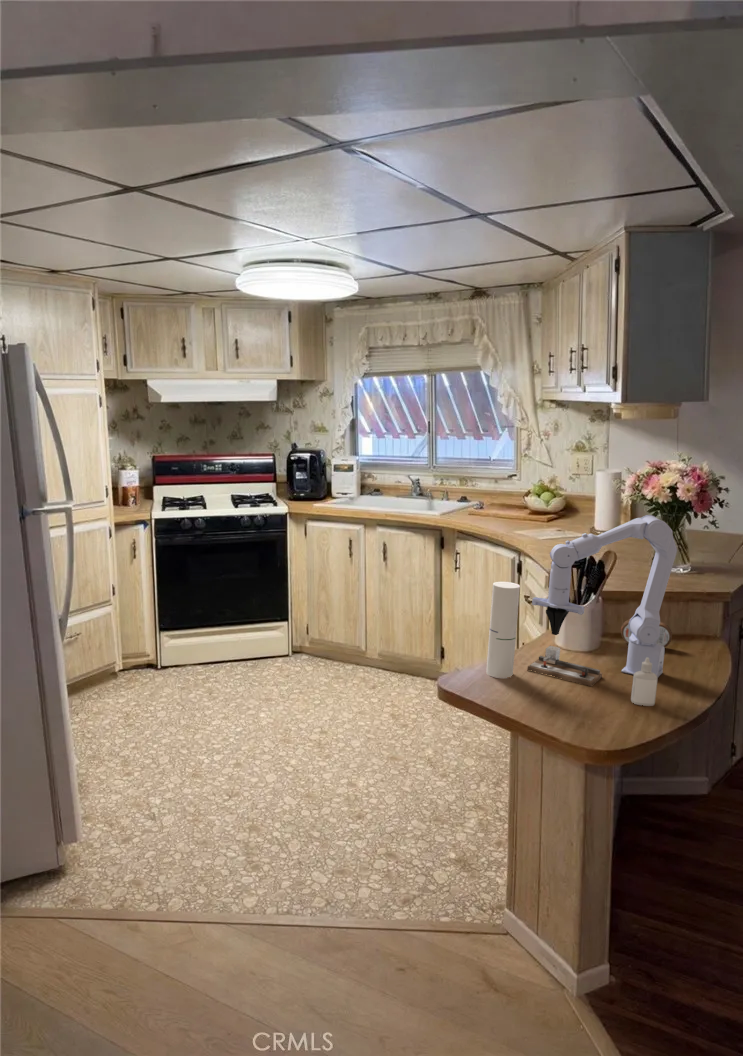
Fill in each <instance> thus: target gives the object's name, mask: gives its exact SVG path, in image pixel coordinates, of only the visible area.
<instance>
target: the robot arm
mask: <svg viewBox="0 0 743 1056" xmlns="http://www.w3.org/2000/svg"><path fill="white" fill-rule="evenodd" d="M673 532H674V531H673V530H672V528H671V527H670V525H668V523H667V522H666V521H664V520H661V519H659V518H657V517H656V516H655V515H652V514H646V515H644V516H642V517H637V518H633V519H631V520H629V521H627V522H624V523H623V524H619V525H618V526H616V527H613V528H611V529H609V530H607V531H604V532H601V533H600V534H598V535H596V534H594V533H586V532H585V533H581V536H580V537H578V538H575V539H572V540H568V539H567V540H566V541H564V542H565V543H558V544H556V545H554V546H553V548H552V549H551V550H550V552H549V556H550V559H551V564H550V567H551V568H550V572H549V583H548V594H547V598H545V597H544V598H543V597H532V601H531V605H532V606H540V607H545V608H547V609H545V614H546V616H547V618H548V621H549V625H550V630H551V635H553V636H557V635H559V634H560V630H561V628H562V625H563V622H565V619H566V617H567V616H568V614H569V612H570V613H575V614H578V615H580V616H581V615H584V614H585V607H586V606H583V605H579V604H576V603H574V602H573V603H572V602H570V594H571V592H570V591H571V581H572V566H573V565H574V564H575V562H576V561H577V562H578V561H580V560H582V559H585V558H588V557H591V556H594V555H596V554H598V553H600V551H601V550H602V547H604V546H607V545H610V544H612V543H615V542H619V541H620V542H621V541H622V540H624V539H628V538H633V539H634V538H635V539H638V540H644V539H645V540H646V541H648V542H649V544H650V546H651V548H653V550H654V551H655V553H654V557H653V560H652V563H651V568H650V571H649V574H648V578H647V581H646V584H645V585H646V586H645V587H644V591H643V596H642V598H641V600H640V601H641V602H640V605H639V606H638V607H637V608H636V609H635V612H634V614H633V616H632V617H631V618H629V619H630V621H629V629H630V631H631V632H632V634H631V636H630V637H629V644H628V645H627V647H628V648H627V655H626V656H627V657H626V664H625V666H624V667H623V668H622V669H621V673H625V674H628V675H633V676H634V673H635V672H637V671H641V666H642V662H645V660H646V658H649V662H650V663H652V670H651V672H652V673H654V674H656V676H657V679H658V678H659V677H660V676H661V675H662V674H663V669H664V668H663V667H664V659H665V652H666V651H665V648H664V646H661V645H659V644H657V643H656V642H657V640H658V639H659V637H660V630H659V624H660V622H661V616H660V610H661V606H662V604H663V600H664V598H665V597H664V596H665V594H666V590H667V586H668V583H669V580H670V575H671V573H672V569H673V567H674V562H675V559H676V557H677V552H678V549H677V545H676V542H675V539H674V535H673Z"/></svg>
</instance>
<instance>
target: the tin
mask: <svg viewBox="0 0 743 1056" xmlns="http://www.w3.org/2000/svg"><path fill="white" fill-rule="evenodd" d="M630 619H631V618H629V619H627V620H626V621H623V623H622V625H621V628H620V634H621V637H622V639H623V641H624V642H625V643H627V644H628V645H629V637H630V636H631V634H632V632H631V631H630V629H629V621H630ZM659 630H660V637H659V639H658V640H657V642H656V643H657V644H659V645H661V646H664V649H665V648H667V647H668V646H669V645H670V643H671V642H672V638H673V634H672V633H673V632H672V629H671V628H670V626H669V625H668V624H666V623H665V622H663V621H660V624H659Z"/></svg>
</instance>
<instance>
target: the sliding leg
mask: <svg viewBox="0 0 743 1056" xmlns="http://www.w3.org/2000/svg"><path fill="white" fill-rule="evenodd" d="M560 652H561V647H557V646H554V645H548V646H547V647H546V648H545V656H544V657H545V658H544V659H543V661H544V665H543V666H546V662H547V663H551V664H556V660H560V656H561V653H560Z"/></svg>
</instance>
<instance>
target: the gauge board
mask: <svg viewBox="0 0 743 1056" xmlns="http://www.w3.org/2000/svg"><path fill="white" fill-rule="evenodd" d="M544 658H545V656H543V655H540V656H538V659H536V660H535V661H533V662H532V663H531V664H529V665H527V671H528V670H532V671H536V672H539V673H543V674H547V675H552V676H555V677H558V678H557V679H559V678H562V679H561V680H563V679H564V681H567V680H568V681H567V682H571V681H572V683H575V682H576V683H575V684H579V683H580V685H583V684H584V685H583V686H587V685H588V686H587V687H592V686H594V685H595V684H596V683H597V682H598V681H599V680H600V679H602V678H603V673H602V672H601V669H597V668H592V667H588V666H584V665H581V664H576V663H573V662H568V661H563V660H560V659H559V660H556V664H551V663H547V662H546V666H543V665H544V661H543V659H544ZM532 671H531V672H532ZM539 673H538V674H539ZM543 674H542V675H543ZM547 675H546V676H547ZM555 677H554V678H555Z"/></svg>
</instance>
